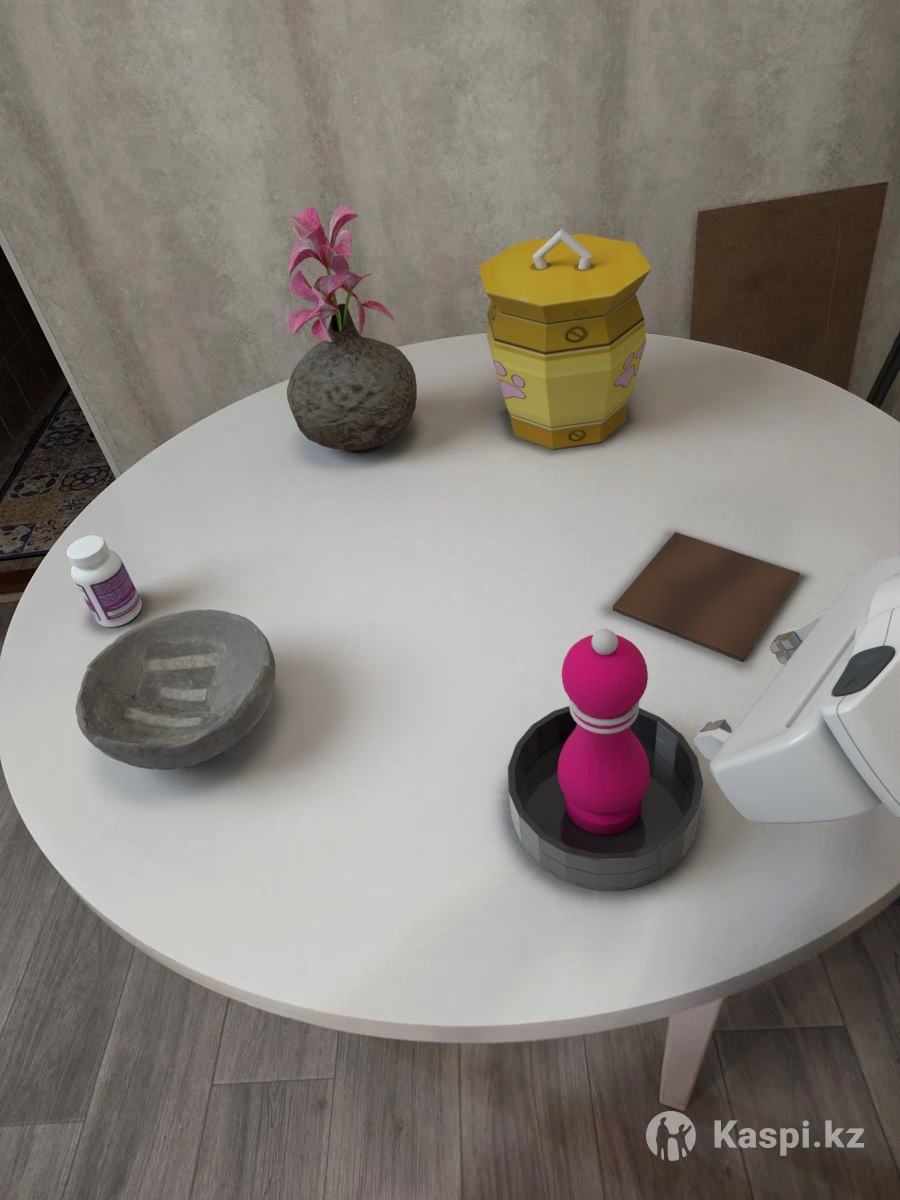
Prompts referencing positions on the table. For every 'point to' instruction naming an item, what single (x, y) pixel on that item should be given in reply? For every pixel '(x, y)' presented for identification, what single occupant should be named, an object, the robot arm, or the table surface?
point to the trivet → (708, 595)
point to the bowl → (177, 689)
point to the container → (566, 335)
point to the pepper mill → (604, 734)
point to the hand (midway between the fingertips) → (744, 693)
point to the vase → (343, 352)
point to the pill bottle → (103, 581)
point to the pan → (614, 856)
